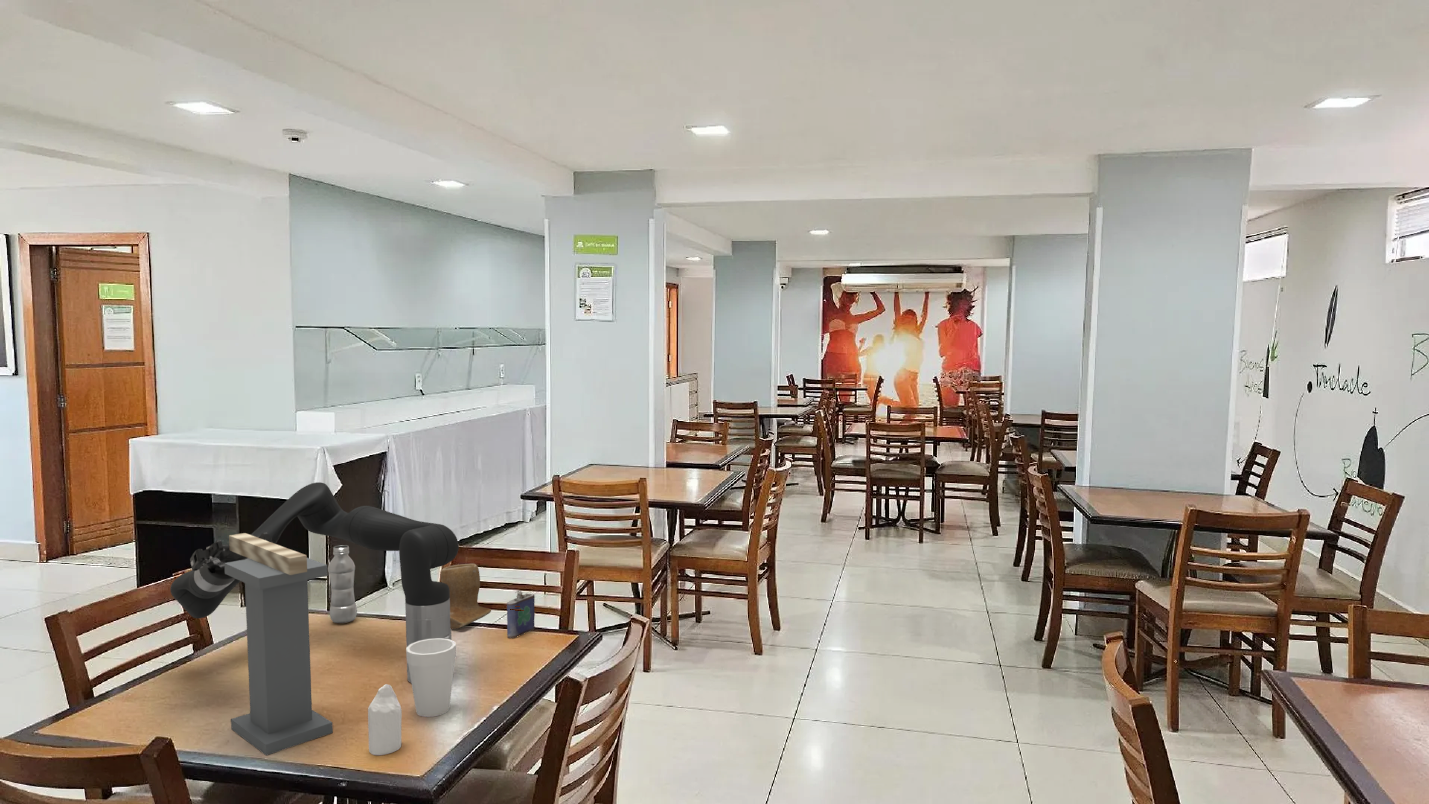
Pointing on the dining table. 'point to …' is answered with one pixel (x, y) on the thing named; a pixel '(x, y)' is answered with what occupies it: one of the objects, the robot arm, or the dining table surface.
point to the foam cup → (431, 674)
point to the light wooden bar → (268, 553)
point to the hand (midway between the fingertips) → (243, 540)
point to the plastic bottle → (342, 586)
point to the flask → (520, 615)
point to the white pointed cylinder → (384, 722)
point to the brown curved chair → (463, 594)
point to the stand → (278, 657)
